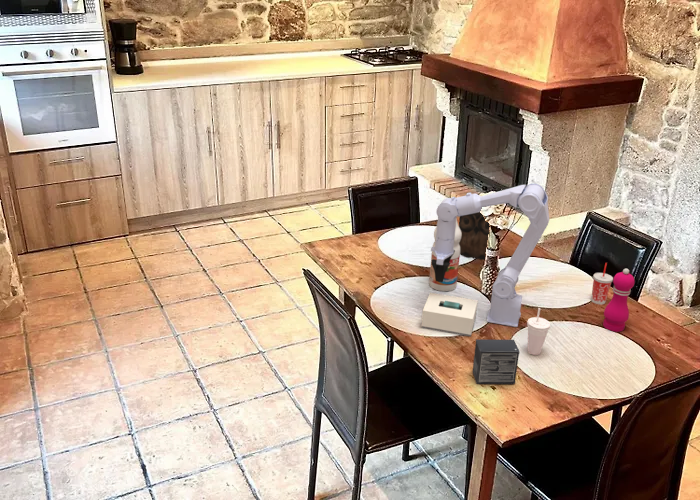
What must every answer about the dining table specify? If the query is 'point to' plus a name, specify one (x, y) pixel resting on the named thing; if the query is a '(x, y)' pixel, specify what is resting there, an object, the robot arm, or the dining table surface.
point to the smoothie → (537, 333)
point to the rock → (473, 236)
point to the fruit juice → (452, 271)
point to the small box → (495, 361)
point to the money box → (449, 314)
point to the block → (451, 305)
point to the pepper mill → (619, 302)
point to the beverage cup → (601, 287)
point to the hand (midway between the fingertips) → (441, 276)
